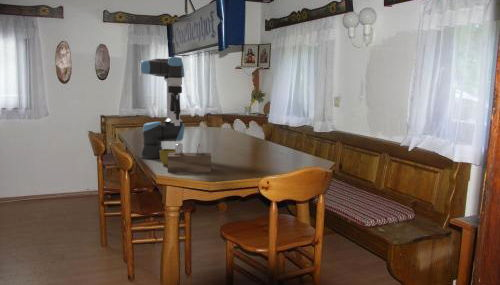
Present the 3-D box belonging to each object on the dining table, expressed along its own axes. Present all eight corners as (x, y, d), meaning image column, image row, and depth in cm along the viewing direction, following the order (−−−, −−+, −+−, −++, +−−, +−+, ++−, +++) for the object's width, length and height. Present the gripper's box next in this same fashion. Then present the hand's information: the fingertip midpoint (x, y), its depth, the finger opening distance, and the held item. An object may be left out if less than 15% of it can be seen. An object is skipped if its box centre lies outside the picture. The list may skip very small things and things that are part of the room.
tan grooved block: (169, 167, 243) (169, 152, 242) (210, 167, 246) (210, 152, 245) (167, 172, 231) (167, 156, 230) (211, 172, 234) (211, 156, 233)
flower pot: (158, 165, 249) (158, 150, 248) (163, 162, 258) (163, 148, 256) (173, 166, 248) (173, 151, 247) (177, 163, 256) (177, 149, 255)
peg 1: (175, 159, 239) (175, 143, 238) (182, 159, 239) (182, 143, 238) (175, 160, 235) (175, 144, 234) (182, 160, 235) (182, 144, 234)
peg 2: (196, 159, 240) (196, 143, 239) (203, 159, 241) (203, 143, 240) (196, 160, 236) (196, 144, 235) (203, 160, 237) (203, 144, 236)
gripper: (164, 85, 238) (165, 121, 242) (171, 86, 215) (171, 127, 219) (177, 85, 241) (178, 121, 244) (186, 86, 218) (186, 126, 221)
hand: (175, 124), depth 231 cm, fingers open, 13 cm apart
